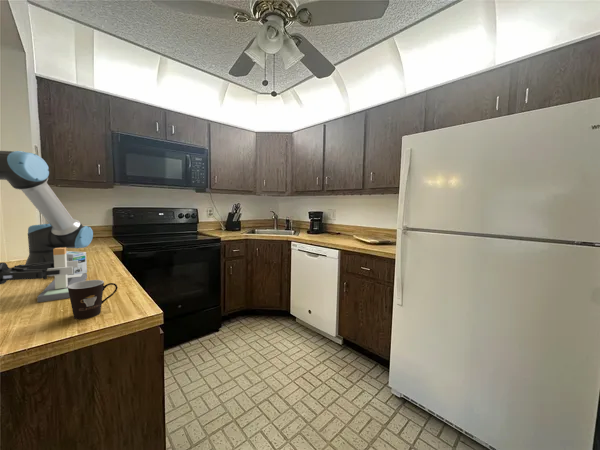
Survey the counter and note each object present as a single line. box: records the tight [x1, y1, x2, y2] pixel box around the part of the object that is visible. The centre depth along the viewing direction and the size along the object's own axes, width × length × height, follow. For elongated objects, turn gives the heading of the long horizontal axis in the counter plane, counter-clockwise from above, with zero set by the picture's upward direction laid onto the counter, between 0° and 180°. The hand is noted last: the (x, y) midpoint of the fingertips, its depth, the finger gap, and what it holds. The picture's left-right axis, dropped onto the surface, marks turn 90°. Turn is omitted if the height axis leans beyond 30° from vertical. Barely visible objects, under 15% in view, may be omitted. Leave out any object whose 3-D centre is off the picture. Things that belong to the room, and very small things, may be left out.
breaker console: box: [36, 272, 88, 303], centre depth 99 cm, size 28×10×2 cm, turn 35°
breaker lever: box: [53, 247, 68, 289], centre depth 92 cm, size 3×3×15 cm
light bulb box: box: [66, 250, 88, 275], centre depth 117 cm, size 11×7×11 cm, turn 84°
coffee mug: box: [68, 279, 118, 320], centre depth 77 cm, size 12×9×10 cm
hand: (75, 266), depth 95 cm, fingers open, 10 cm apart
